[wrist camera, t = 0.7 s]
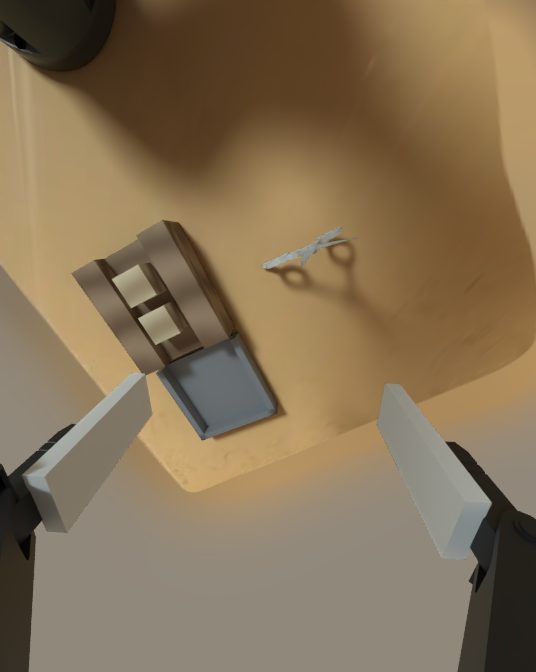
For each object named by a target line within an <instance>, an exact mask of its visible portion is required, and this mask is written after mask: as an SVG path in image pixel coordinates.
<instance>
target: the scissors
mask: <svg viewBox="0 0 536 672" xmlns="http://www.w3.org/2000/svg"><path fill="white" fill-rule="evenodd" d="M342 232H343V230H342V227H338V228H336V229H334V230H331V231H329V232H327V233H325V234H323V235H322V236H320V237H318V238H317V239H316V240H317V241H316V242H314V243H312V244H310V245H308V246H306V247H304V248H301V249H299V250H297V251H294V252H292V253H290V252H288V253H286V254H283V255H281V256H279V257H277V258H275V259H273V260H271V261H268V262H266V263H264V264H262V265H263V267H264V269H265V268H267V269H269V268H272V267H274V266H276V265H279V264H281V263H283V262H285V261H289V260H291V259H294V258H296V257H300V256H303V257H302V261H301V267H302V266H303V265H304V263H305V262H306V261H307V260H308V259H309V257H310V256H311V255H312V254H314V253H316V252H317V250H318V249H320V248H323V247H327V246H330V245H334V244H337V243H341V242H345V241H348V240H352V239H355V238H352V239H345V240H338V241H333V242H328V240H330V239H332V238H334V237H335V236H337V235H339V234H341V233H342ZM358 238H359V237H358ZM326 242H328V243H326Z"/></svg>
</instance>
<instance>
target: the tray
mask: <svg viewBox="0 0 536 672" xmlns="http://www.w3.org/2000/svg"><path fill="white" fill-rule="evenodd" d="M156 374H157V376H158V377H159V379H160V380H161V382H162V383H163V384H164V386H165V387H166V389H167V390H168V392H169V393H170V395H171V396H172V398H173V399H174V400H175V402H176V403H177V405H178V406H179V408H180V409H181V411H182V412H183V414H184V415H185V416H186V418H187V419H188V421H189V422H190V424H191V425H192V427H193V428H194V429H195V431H196V432H197V434H198V435H199V437H200V438H201V440H205V439H208V438H211V437H213V436H216V435H219V434H222V433H224V432H227V431H230V430H232V429H235V428H238V427H241V426H243V425H246V424H249V423H252V422H254V421H257V420H260V419H263V418H265V417H268V416H271V415H273V414H276V413H277V405H278V404H277V402H276V400H275V398H274V396H273V395H272V393H271V391H270V389H269V387H268V385H267V384H266V382H265V380H264V378H263V376H262V375H261V373H260V371H259V369H258V367H257V365H256V364H255V362H254V360H253V358H252V356H251V354H250V353H249V351H248V349H247V347H246V345H245V343H244V342H243V340H242V338H241V336H240V334H239V332H237V333H235V334H233V335H231V336H230V337H229V338H228V339H226V340H223V341H221V342H219V343H217V344H215V345H212V346H210V347H208V348H206V349H204V348H202V349H200V350H197V351H195V352H193V353H191V354H189V355H186V356H184V357H182V358H180V359H177V360H175V361H173V362H171V363H168V364H167V365H166V366H165V367H163V368H161V369H160V370H159V371H158V372H157V373H156Z"/></svg>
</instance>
